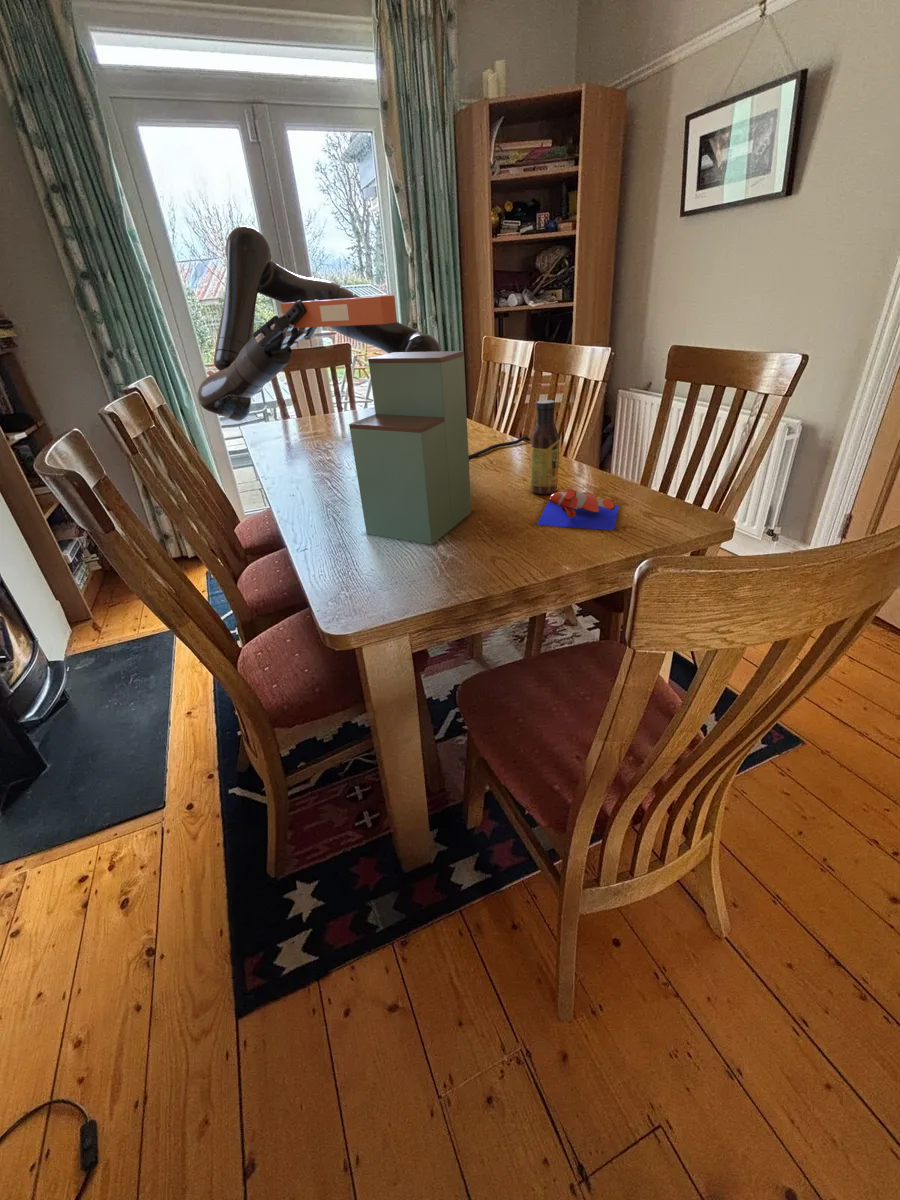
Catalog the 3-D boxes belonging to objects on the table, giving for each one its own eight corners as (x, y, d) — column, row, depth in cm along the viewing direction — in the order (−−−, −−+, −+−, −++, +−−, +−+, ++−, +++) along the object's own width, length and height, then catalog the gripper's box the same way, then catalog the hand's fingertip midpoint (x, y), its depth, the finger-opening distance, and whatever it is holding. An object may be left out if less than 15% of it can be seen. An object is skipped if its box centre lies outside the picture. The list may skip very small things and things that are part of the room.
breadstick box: (284, 328, 96) (279, 303, 94) (300, 326, 100) (295, 302, 97) (383, 324, 87) (380, 296, 85) (397, 322, 90) (394, 295, 88)
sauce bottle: (557, 495, 120) (560, 404, 110) (529, 495, 121) (530, 405, 111) (557, 486, 126) (561, 398, 115) (531, 486, 127) (532, 399, 117)
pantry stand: (366, 534, 109) (339, 365, 92) (411, 504, 122) (394, 352, 105) (431, 545, 102) (415, 364, 85) (471, 512, 115) (463, 351, 98)
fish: (547, 495, 106) (554, 481, 112) (546, 517, 108) (553, 502, 115) (614, 498, 102) (617, 484, 108) (612, 521, 104) (615, 506, 111)
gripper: (223, 344, 99) (270, 285, 88) (277, 336, 109) (325, 282, 98) (246, 381, 100) (295, 328, 89) (298, 370, 111) (347, 321, 100)
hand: (311, 305), depth 94 cm, fingers closed on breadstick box, 4 cm apart
